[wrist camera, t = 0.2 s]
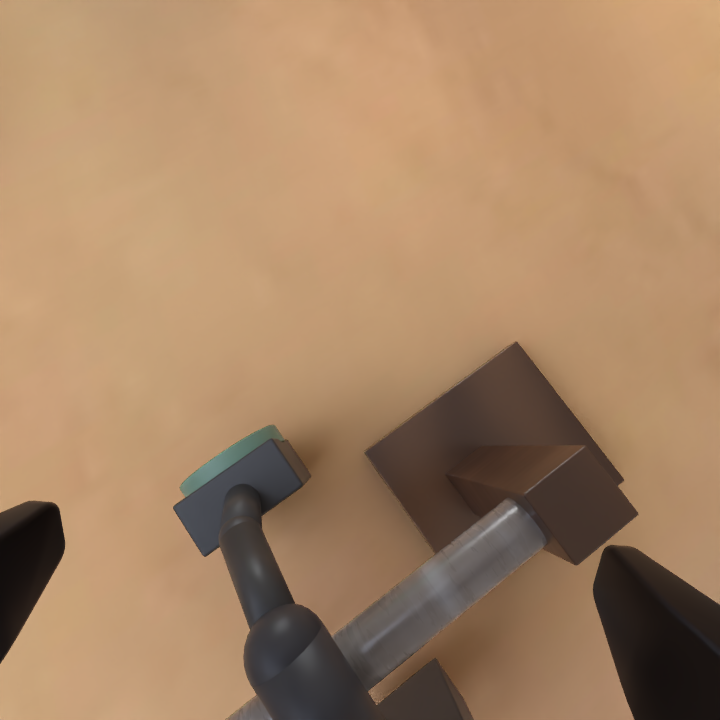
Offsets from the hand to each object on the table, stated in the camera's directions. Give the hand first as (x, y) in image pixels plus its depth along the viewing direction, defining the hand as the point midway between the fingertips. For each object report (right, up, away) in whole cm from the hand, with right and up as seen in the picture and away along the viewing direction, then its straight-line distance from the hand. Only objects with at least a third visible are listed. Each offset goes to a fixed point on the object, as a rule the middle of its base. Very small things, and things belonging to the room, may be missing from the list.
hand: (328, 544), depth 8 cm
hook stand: (+2, -5, +14) cm, 15 cm away
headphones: (-1, -7, +12) cm, 14 cm away
